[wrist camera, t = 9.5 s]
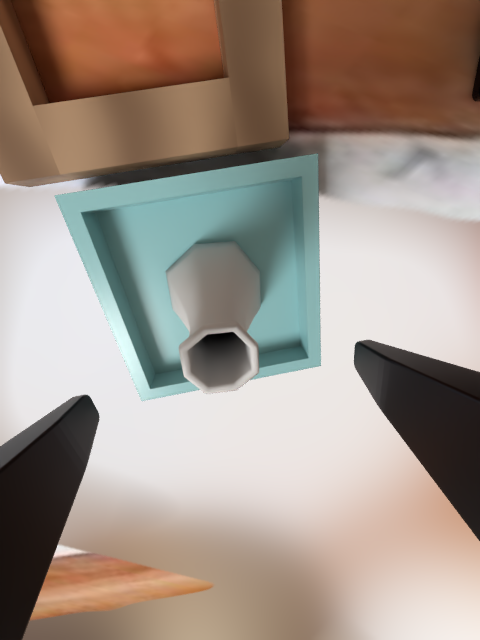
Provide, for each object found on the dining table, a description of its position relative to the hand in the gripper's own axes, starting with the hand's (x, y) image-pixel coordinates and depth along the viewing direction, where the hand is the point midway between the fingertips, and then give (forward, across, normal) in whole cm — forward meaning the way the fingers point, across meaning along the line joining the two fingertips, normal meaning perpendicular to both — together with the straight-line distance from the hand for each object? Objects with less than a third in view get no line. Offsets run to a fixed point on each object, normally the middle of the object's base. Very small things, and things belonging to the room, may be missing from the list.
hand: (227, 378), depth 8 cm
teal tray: (+12, 0, 0) cm, 12 cm away
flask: (+12, 0, 0) cm, 12 cm away
